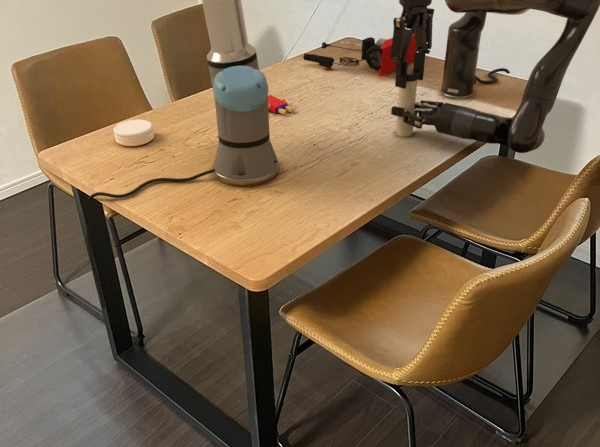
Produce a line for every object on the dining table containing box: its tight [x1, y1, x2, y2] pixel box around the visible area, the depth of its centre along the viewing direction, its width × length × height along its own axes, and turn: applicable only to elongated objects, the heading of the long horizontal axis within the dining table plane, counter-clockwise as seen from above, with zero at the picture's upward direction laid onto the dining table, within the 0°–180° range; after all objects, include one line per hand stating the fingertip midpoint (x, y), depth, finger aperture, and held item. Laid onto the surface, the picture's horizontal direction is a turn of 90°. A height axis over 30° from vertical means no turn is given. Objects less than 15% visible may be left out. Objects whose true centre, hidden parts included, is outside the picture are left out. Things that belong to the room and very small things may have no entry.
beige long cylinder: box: [395, 80, 418, 138], centre depth 158 cm, size 4×4×16 cm
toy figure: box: [268, 94, 294, 115], centre depth 178 cm, size 2×7×12 cm
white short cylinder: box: [113, 118, 155, 147], centre depth 161 cm, size 10×10×4 cm
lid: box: [406, 67, 419, 81], centre depth 154 cm, size 5×5×2 cm
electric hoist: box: [302, 34, 418, 77], centre depth 210 cm, size 10×27×30 cm
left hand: (409, 82), depth 155 cm, fingers open, 7 cm apart
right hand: (396, 107), depth 160 cm, fingers closed on beige long cylinder, 4 cm apart
